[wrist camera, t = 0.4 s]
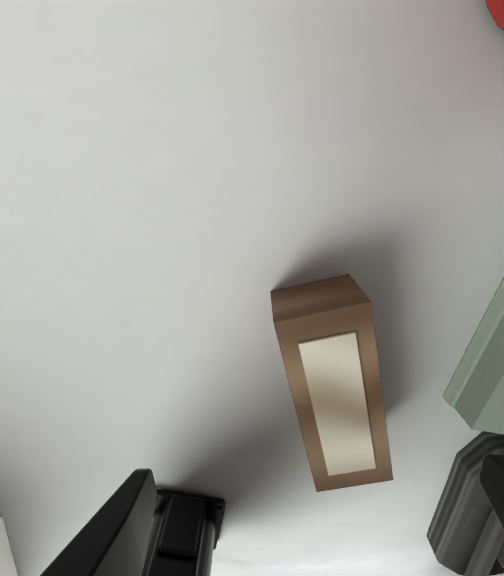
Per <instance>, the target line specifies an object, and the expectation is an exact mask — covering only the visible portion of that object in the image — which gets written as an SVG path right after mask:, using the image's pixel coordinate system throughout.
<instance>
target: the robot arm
mask: <svg viewBox="0 0 504 576" xmlns="http://www.w3.org/2000/svg"><path fill="white" fill-rule="evenodd" d="M479 478H480V483H481V485H482V488H483V490H484V492H485V494H486V496H487V498H488V500H489V502H490V504H491V506H492V508H493V510H494V512H495V514H496V516H497V518H498V520H499V521H500V523H501V525H502V527H503V529H504V454H503V453H487V454H486V455H484V458H483V462H482V466H481V470H480V475H479ZM224 510H225V501H224V500H223V499H218V498H211V497H204V496H197V495H191V494H184V493H177V492H170V491H163V490H156V486H155V481H154V477H153V473H152V470H151V469H137V470H135V471H134V472H133V473H132V474H131V475H130V476H129V477H128V478H127V479H126V480H125V482H124V483H123V484H122V485H121V486H120V487H119V488H118V489H117V490H116V492H115V493H114V494H113V495H112V496H111V497H110V498H109V499H108V501H107V502H106V503H105V504H104V505H103V506H102V507H101V508H100V509H99V511H98V512H97V513H96V514H95V515H94V516H93V517H92V518H91V519H90V521H89V522H88V523H87V524H86V525H85V526H84V527H83V528H82V529H81V531H80V532H79V533H78V534H77V535H76V536H75V537H74V538H73V539H72V541H71V542H70V543H69V544H68V545H67V546H66V547H65V548H64V549H63V551H62V552H61V553H60V554H59V555H58V556H57V557H56V558H55V560H54V561H53V562H52V563H51V564H50V565H49V566H48V567H47V568H46V570H45V571H44V572H43V573H42V574H41V575H40V576H210V572H211V564H212V555H213V550H214V549H215V548H216V544H217V540H218V536H219V531H220V527H221V523H222V519H223V514H224Z"/></svg>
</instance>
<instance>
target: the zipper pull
mask: <svg viewBox="0 0 504 576" xmlns="http://www.w3.org/2000/svg"><path fill="white" fill-rule="evenodd" d="M487 453H503V454H504V434H498V433H492V432H486V431H485V432H482V433H481V434H479V435H478V436H477V437H476V438H475V439H473V440H472V441H471V442H470V443H469V444H468V445H466V446H465V447H464V448H463V449H462V450H460V451H459V452H458V453H457V454H456V457H455V460H454V463H453V465H452V468H451V471H450V474H449V477H448V480H447V482H446V485H445V487H444V490H443V493H442V495H441V498H440V500H439V503H438V506H437V508H436V511H435V513H434V516H433V519H432V521H431V524H430V526H429V529H428V533H427V538H428V540H429V542H430V545H431V547H432V549H433V551H434V554H435V556H436V558H437V560H438V562H439V563H440V564H442V565H443V566H445V567H447V568H448V569H450V570H452V571H453V572H455V573H457V574H459V575H463V576H491V575H497V574H502V573H504V529H503V527H502V525H501V523H500V521H499V520H498V518H497V516H496V514H495V512H494V510H493V508H492V506H491V504H490V502H489V500H488V498H487V496H486V494H485V492H484V490H483V488H482V485H481V483H480V478H479V475H480V470H481V466H482V462H483V458H484V455H486V454H487Z"/></svg>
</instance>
